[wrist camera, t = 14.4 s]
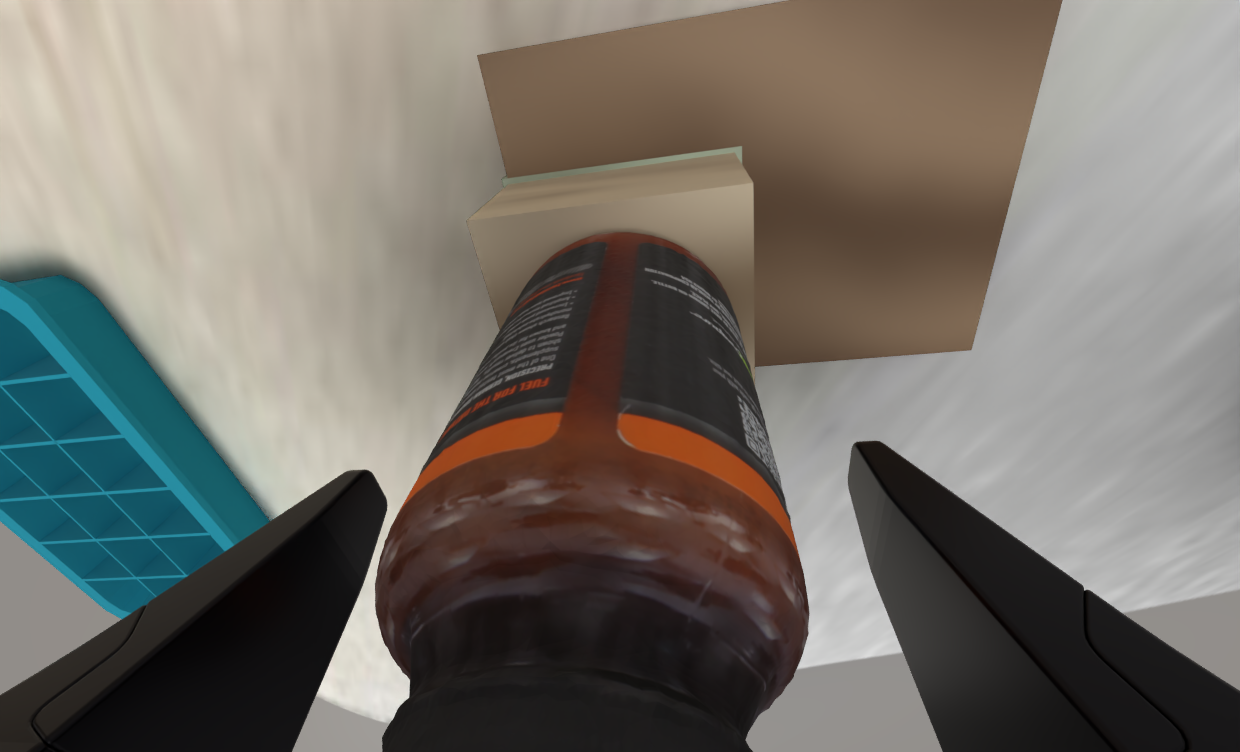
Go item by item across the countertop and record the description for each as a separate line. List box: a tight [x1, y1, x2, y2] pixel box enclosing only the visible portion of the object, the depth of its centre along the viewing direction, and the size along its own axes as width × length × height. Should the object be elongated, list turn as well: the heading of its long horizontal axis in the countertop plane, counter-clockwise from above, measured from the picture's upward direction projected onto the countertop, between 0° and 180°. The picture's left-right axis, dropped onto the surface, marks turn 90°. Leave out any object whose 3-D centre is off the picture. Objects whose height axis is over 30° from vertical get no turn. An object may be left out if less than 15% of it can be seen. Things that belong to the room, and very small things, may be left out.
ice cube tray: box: [0, 275, 270, 619], centre depth 25 cm, size 12×20×3 cm, turn 9°
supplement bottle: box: [375, 232, 809, 752], centre depth 9 cm, size 6×6×11 cm
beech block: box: [466, 152, 755, 385], centre depth 16 cm, size 7×7×4 cm
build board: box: [477, 0, 1062, 367], centre depth 16 cm, size 11×15×1 cm
